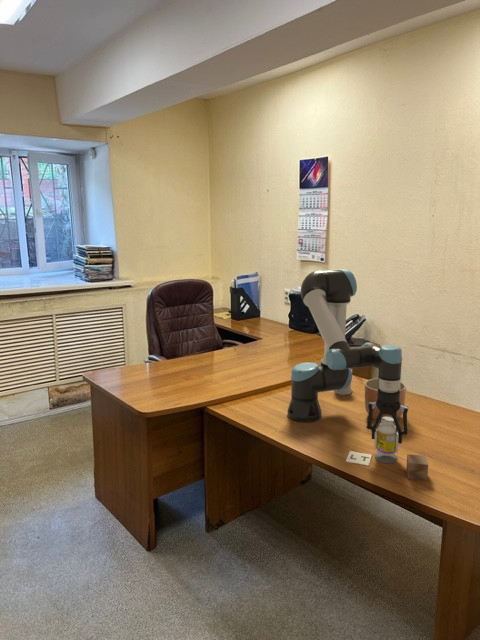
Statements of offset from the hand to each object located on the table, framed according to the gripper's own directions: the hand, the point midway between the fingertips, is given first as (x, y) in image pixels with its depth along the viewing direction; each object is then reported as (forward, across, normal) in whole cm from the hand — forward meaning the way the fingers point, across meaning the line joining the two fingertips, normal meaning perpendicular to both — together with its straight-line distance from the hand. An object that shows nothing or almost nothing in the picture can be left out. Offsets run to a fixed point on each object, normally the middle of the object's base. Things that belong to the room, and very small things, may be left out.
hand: (386, 448), depth 169 cm
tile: (+3, -9, -4) cm, 10 cm away
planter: (+4, -5, +36) cm, 36 cm away
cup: (+4, -28, +61) cm, 67 cm away
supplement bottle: (+1, 0, 0) cm, 1 cm away
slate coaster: (+3, 0, 0) cm, 3 cm away
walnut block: (+4, +11, -9) cm, 14 cm away
